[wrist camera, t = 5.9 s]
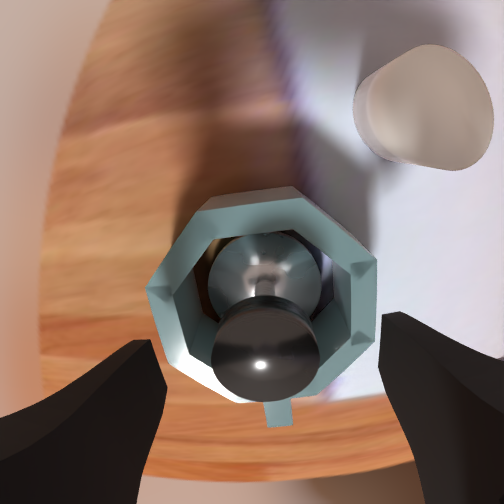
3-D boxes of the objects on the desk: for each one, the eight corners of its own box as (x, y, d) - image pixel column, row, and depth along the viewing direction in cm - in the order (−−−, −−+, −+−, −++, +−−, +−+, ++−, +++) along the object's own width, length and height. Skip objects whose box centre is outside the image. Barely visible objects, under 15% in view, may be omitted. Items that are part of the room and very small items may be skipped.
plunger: (314, 223, 14) (349, 275, 8) (321, 323, 15) (347, 409, 10) (200, 238, 14) (161, 297, 8) (220, 335, 16) (202, 422, 10)
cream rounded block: (430, 72, 12) (482, 53, 7) (441, 160, 13) (497, 169, 9) (345, 69, 12) (378, 38, 8) (358, 165, 13) (398, 173, 9)
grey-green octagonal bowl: (347, 179, 13) (374, 190, 10) (352, 371, 16) (367, 414, 13) (159, 205, 14) (129, 222, 11) (204, 387, 17) (194, 431, 14)
